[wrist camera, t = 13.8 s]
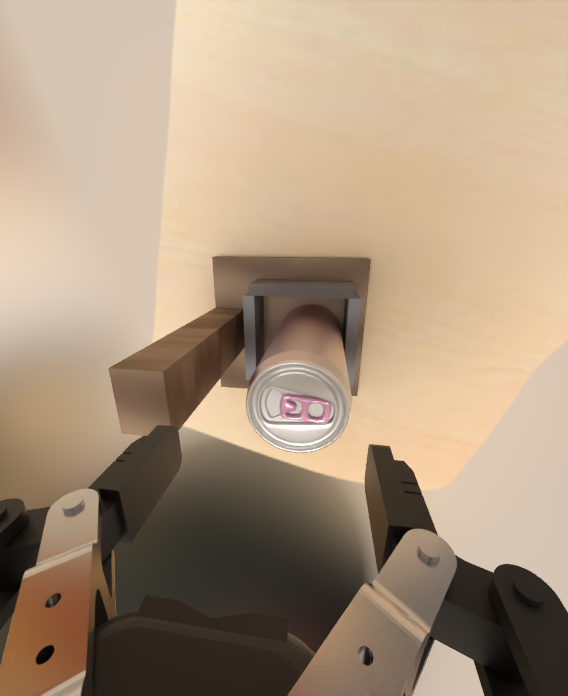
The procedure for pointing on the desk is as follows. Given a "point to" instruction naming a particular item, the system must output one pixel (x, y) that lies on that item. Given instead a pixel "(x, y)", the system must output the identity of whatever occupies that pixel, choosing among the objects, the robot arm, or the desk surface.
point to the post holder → (237, 335)
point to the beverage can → (301, 383)
